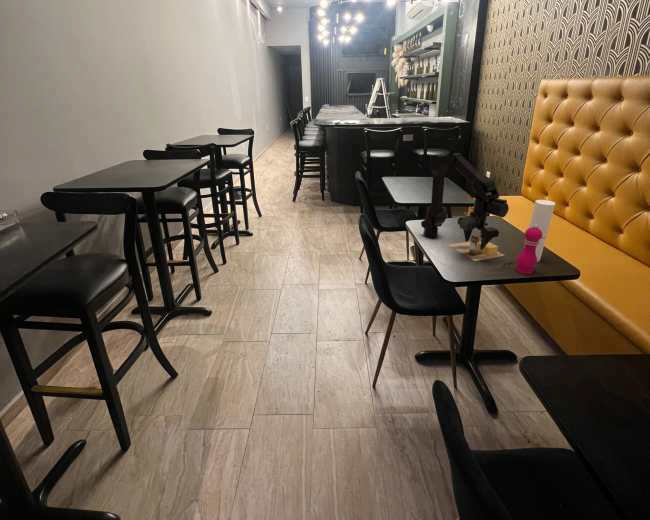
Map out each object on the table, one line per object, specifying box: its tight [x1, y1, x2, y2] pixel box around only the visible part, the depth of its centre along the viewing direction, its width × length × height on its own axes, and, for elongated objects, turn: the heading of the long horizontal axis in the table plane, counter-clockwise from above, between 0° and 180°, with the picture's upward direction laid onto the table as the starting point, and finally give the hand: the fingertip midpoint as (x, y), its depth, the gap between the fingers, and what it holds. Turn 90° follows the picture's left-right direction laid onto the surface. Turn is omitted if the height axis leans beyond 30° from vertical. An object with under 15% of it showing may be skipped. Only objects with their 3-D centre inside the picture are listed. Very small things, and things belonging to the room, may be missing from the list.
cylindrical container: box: [523, 199, 556, 263], centre depth 162 cm, size 7×7×25 cm
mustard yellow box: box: [477, 241, 499, 256], centre depth 168 cm, size 7×5×4 cm
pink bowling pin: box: [515, 224, 542, 275], centre depth 152 cm, size 7×7×20 cm
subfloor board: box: [447, 240, 505, 262], centre depth 171 cm, size 18×16×2 cm
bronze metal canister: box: [469, 234, 481, 255], centre depth 165 cm, size 3×3×8 cm
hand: (474, 245), depth 165 cm, fingers open, 9 cm apart
